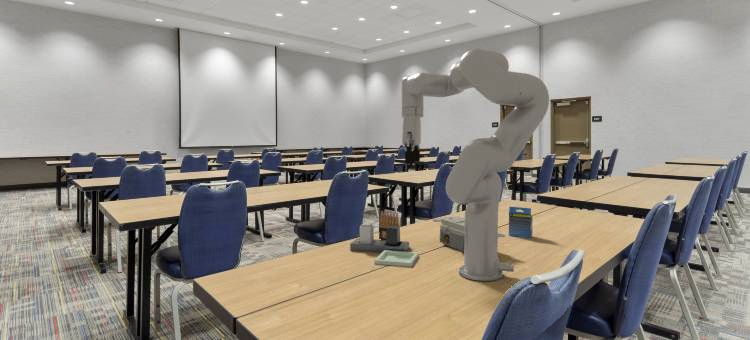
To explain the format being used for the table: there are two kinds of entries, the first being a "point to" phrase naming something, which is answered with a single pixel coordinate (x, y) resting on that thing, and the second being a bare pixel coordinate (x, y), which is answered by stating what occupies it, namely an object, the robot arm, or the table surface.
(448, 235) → the electrical outlet
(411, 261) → the tray
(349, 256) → the table surface
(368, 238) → the grey rectangular block
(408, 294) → the table surface
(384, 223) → the ammunition clip
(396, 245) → the dark grey holder base
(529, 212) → the label tape box
